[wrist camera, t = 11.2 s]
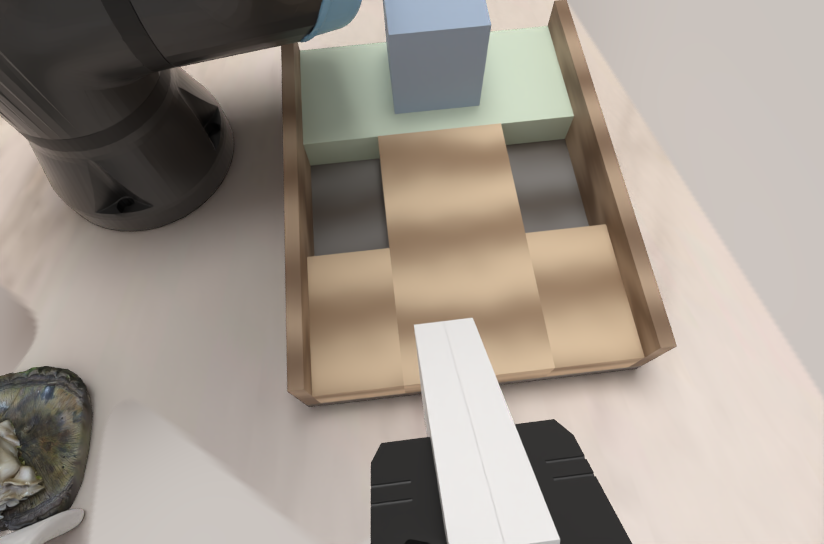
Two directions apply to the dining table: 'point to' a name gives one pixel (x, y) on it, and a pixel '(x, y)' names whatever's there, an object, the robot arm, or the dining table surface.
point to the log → (41, 444)
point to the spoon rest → (45, 528)
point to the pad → (374, 110)
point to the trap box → (465, 250)
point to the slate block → (436, 52)
